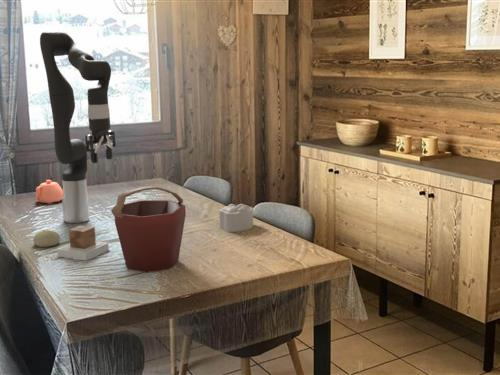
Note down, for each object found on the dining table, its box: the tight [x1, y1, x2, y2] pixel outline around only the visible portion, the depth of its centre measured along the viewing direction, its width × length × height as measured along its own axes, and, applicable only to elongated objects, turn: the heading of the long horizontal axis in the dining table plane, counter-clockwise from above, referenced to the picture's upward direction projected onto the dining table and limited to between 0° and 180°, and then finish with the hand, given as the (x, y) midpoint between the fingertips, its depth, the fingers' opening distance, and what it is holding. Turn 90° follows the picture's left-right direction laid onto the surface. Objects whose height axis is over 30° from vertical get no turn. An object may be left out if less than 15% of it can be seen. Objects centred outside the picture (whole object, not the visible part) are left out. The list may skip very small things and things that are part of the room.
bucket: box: [110, 186, 187, 273], centre depth 195 cm, size 24×22×25 cm
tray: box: [56, 241, 110, 261], centre depth 208 cm, size 12×12×3 cm
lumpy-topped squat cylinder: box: [218, 203, 254, 233], centre depth 236 cm, size 10×13×9 cm
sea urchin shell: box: [32, 229, 61, 248], centre depth 219 cm, size 9×8×8 cm
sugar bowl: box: [35, 179, 64, 205], centre depth 281 cm, size 12×14×10 cm
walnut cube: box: [68, 225, 96, 249], centre depth 207 cm, size 6×6×6 cm
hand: (102, 161), depth 223 cm, fingers open, 8 cm apart
